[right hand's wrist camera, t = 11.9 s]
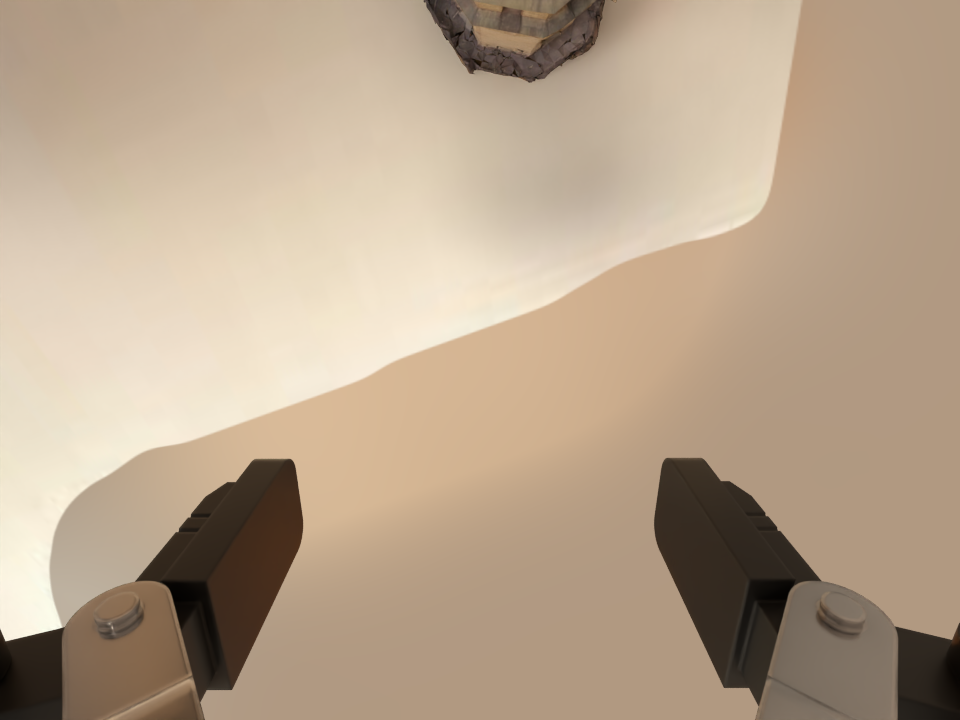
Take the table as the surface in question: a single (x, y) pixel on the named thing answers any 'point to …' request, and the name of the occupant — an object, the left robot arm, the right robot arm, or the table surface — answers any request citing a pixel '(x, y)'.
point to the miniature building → (518, 33)
